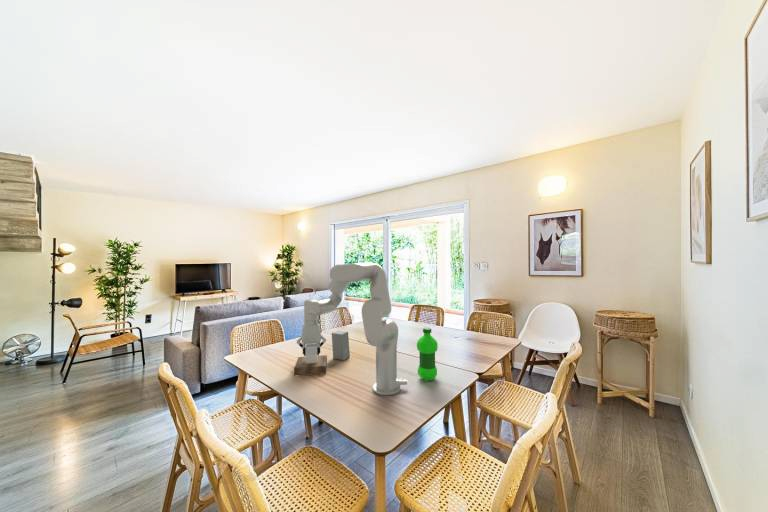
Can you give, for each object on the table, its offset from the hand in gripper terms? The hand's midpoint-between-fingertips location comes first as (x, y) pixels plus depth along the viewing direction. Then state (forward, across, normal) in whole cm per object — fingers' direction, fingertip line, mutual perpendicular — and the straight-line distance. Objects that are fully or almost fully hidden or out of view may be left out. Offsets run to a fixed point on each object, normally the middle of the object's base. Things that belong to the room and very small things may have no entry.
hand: (311, 354), depth 153 cm
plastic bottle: (+8, -58, +24) cm, 63 cm away
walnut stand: (+8, 0, 0) cm, 8 cm away
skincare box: (+8, -16, -13) cm, 22 cm away
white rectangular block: (+4, 0, 0) cm, 4 cm away
